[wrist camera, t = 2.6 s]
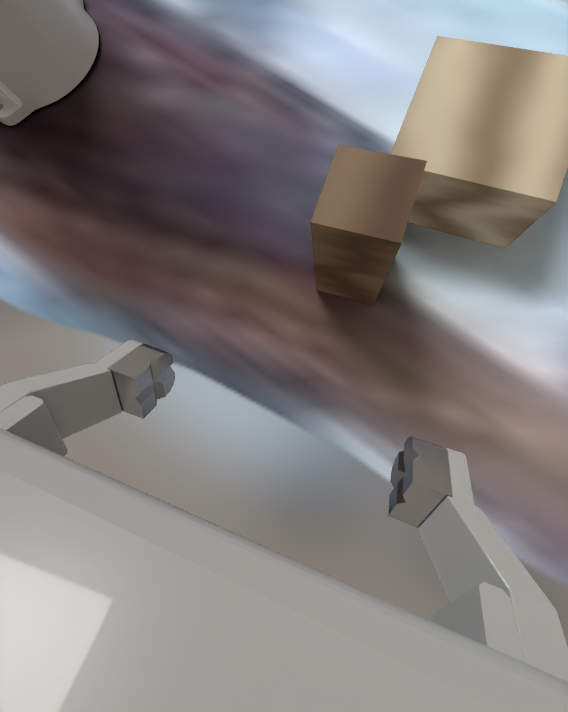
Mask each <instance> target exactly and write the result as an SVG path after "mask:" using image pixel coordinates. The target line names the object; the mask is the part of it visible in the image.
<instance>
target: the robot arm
mask: <svg viewBox="0 0 568 712" xmlns="http://www.w3.org/2000/svg"><path fill="white" fill-rule="evenodd" d="M98 44H99V36H98V30H97V27H96V25H95V23H94V21H93V20H92V19H91V17H90V16H89V15H88V14H87V12H86V11H85V10H84V5H83V0H0V122H2V123H4V124H6V125H9V126H12V125H15V124H17V123H19V122H20V121H22V120H23V119H24V118H25V117H27V116H28V115H29V114H30V113H32V112H33V111H35V110H36V109H39V108H41V107H43V106H46V105H49V104H51V103H53V102H55V101H57V100H59V99H60V98H62V97H63V96H65V95H66V94H68V93H69V92H70V91H71V90H73V89H74V88H75V87H76V86H77V85H78V84H79V83H80V82H81V81H82V79H83V78H84V77H85V76H86V74H87V73H88V71H89V70H90V68H91V66H92V64H93V62H94V60H95V57H96V54H97V50H98ZM172 363H173V357H172V355H171V354H170V353H168V352H165V351H163V350H160V349H157V348H155V347H152V346H149V345H147V344H143V343H141V342H138V341H135V340H128V341H126V342H125V343H124V344H122V345H121V346H119V347H118V348H116V349H115V350H113V351H112V352H111V353H109V354H108V355H106V356H105V357H103V358H102V359H100V360H99V361H98V362H96V363H95V364H91V363H87V364H84V365H79V366H75V367H71V368H67V369H63V370H59V371H55V372H51V373H46V374H42V375H38V376H34V377H29V378H25V379H21V380H17V381H13V382H9V383H5V384H4V385H2V386H0V712H568V647H567V644H566V641H565V637H564V634H563V631H562V627H561V624H560V621H559V618H558V614H557V611H556V609H555V608H554V607H553V605H552V604H551V603H550V601H549V600H548V599H547V597H546V596H545V595H544V593H543V592H542V590H541V589H540V588H539V586H538V585H537V584H536V582H535V581H534V580H533V578H532V577H531V576H530V574H529V573H528V571H527V570H526V569H525V567H524V566H523V565H522V563H521V562H520V561H519V559H518V558H517V557H516V555H515V554H514V553H513V551H512V550H511V549H510V547H509V546H508V544H507V543H506V542H505V540H504V539H503V538H502V536H501V535H500V534H499V532H498V531H497V530H496V528H495V527H494V526H493V524H492V523H491V522H490V520H489V519H488V518H487V516H486V515H485V513H484V512H483V511H482V509H481V508H479V507H476V506H475V504H474V498H473V493H472V487H471V482H470V476H469V470H468V465H467V459H466V456H465V455H464V454H463V453H460V452H457V451H454V450H451V449H448V448H444V447H442V446H439V445H436V444H433V443H430V442H427V441H424V440H421V439H418V438H415V437H412V436H410V437H409V438H407V440H406V442H405V443H404V451H402V452H399V453H398V455H397V457H396V458H395V461H394V464H393V467H392V472H391V483H392V485H393V487H394V489H393V490H392V492H391V493H390V497H389V516H391V517H393V518H395V519H398V520H400V521H402V522H405V523H407V524H409V525H412V526H414V527H416V528H418V532H419V534H420V537H421V539H422V541H423V543H424V545H425V548H426V550H427V552H428V554H429V556H430V559H431V561H432V563H433V565H434V567H435V570H436V572H437V574H438V577H439V579H440V581H441V583H442V585H443V587H444V590H445V592H446V594H447V596H448V599H449V601H450V604H448V605H447V606H445V607H444V608H442V609H441V610H439V611H438V612H436V613H435V614H433V615H432V621H430V620H428V619H425V618H423V617H421V616H419V615H417V614H414V613H412V612H410V611H408V610H405V609H403V608H401V607H399V606H396V605H394V604H392V603H390V602H387V601H385V600H383V599H381V598H378V597H376V596H374V595H372V594H370V593H367V592H365V591H363V590H361V589H359V588H356V587H354V586H352V585H350V584H347V583H345V582H343V581H341V580H338V579H336V578H334V577H332V576H329V575H327V574H325V573H323V572H320V571H318V570H316V569H314V568H311V567H309V566H307V565H305V564H303V563H300V562H298V561H296V560H294V559H292V558H289V557H287V556H285V555H282V554H280V553H278V552H276V551H274V550H272V549H269V548H267V547H265V546H263V545H260V544H258V543H256V542H254V541H251V540H249V539H247V538H245V537H242V536H240V535H238V534H236V533H234V532H231V531H229V530H227V529H225V528H222V527H220V526H218V525H216V524H214V523H211V522H209V521H207V520H205V519H202V518H200V517H198V516H196V515H193V514H191V513H189V512H187V511H184V510H182V509H180V508H178V507H175V506H173V505H171V504H169V503H166V502H164V501H162V500H160V499H158V498H155V497H153V496H151V495H149V494H147V493H144V492H142V491H140V490H137V489H135V488H133V487H131V486H129V485H126V484H124V483H122V482H120V481H117V480H115V479H113V478H111V477H108V476H106V475H104V474H102V473H99V472H97V471H95V470H93V469H91V468H88V467H86V466H84V465H82V464H80V463H77V462H75V461H73V460H71V459H68V458H66V457H64V456H65V455H66V454H67V448H66V446H65V444H64V442H63V440H62V439H63V438H65V437H68V436H70V435H72V434H74V433H76V432H79V431H81V430H83V429H85V428H88V427H90V426H92V425H94V424H96V423H99V422H101V421H103V420H105V419H108V418H110V417H112V416H114V415H116V414H119V413H121V412H122V411H124V412H127V413H130V414H133V415H135V416H138V417H141V418H145V416H147V415H148V413H150V411H151V410H152V409H153V408H154V407H155V406H156V405H157V399H160V398H163V397H165V396H166V395H167V394H168V393H169V392H170V390H171V388H172V386H173V384H174V380H175V374H174V371H173V370H172V368H171V367H170V365H171V364H172Z"/></svg>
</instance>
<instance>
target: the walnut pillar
mask: <svg viewBox="0 0 568 712" xmlns="http://www.w3.org/2000/svg"><path fill="white" fill-rule="evenodd" d="M426 163H427V161H425V160H420V159H414V158H409V157H403V156H398V155H392V154H387V153H381V152H376V151H370V150H365V149H359V148H353V147H348V146H342V145H338V146H337V149H336V152H335V155H334V158H333V160H332V163H331V166H330V169H329V172H328V174H327V177H326V180H325V183H324V186H323V189H322V191H321V194H320V197H319V200H318V203H317V206H316V208H315V211H314V214H313V217H312V220H311V232H312V244H313V255H314V267H315V279H316V290H317V291H321V292H324V293H328V294H332V295H335V296H339V297H343V298H346V299H350V300H354V301H357V302H361V303H365V304H368V305H372V306H373V305H374V303H375V301H376V299H377V296H378V294H379V292H380V290H381V287H382V285H383V283H384V281H385V279H386V276H387V274H388V272H389V270H390V267H391V265H392V263H393V261H394V259H395V256H396V254H397V252H398V250H399V247H400V245H401V243H402V240H403V236H404V233H405V230H406V227H407V224H408V220H409V217H410V214H411V211H412V208H413V204H414V201H415V198H416V195H417V192H418V188H419V185H420V182H421V179H422V176H423V172H424V169H425V166H426Z"/></svg>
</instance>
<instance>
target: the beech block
mask: <svg viewBox="0 0 568 712" xmlns="http://www.w3.org/2000/svg"><path fill="white" fill-rule="evenodd" d="M391 154H392V155H398V156H403V157H409V158H414V159H420V160H425V161H427V163H426V166H425V169H424V172H423V176H422V179H421V182H420V185H419V188H418V192H417V195H416V198H415V201H414V204H413V208H412V211H411V214H410V217H409V220H408V222H410V223H414V224H417V225H421V226H425V227H429V228H432V229H436V230H440V231H443V232H447V233H451V234H454V235H458V236H462V237H465V238H469V239H473V240H477V241H480V242H484V243H488V244H491V245H495V246H499V247H502V248H506V247H507V246H508V245H509V244H511V243H512V242H513V241H514V240H515V239H516V238H517V237H518V236H519V235H520V234H522V233H523V232H524V231H525V230H526V229H527V228H528V227H529V226H530V225H532V224H533V223H534V222H535V221H536V220H537V219H538V218H539V217H540V216H542V215H543V214H544V213H545V212H546V211H547V210H548V209H549V208H550V207H552V206H553V205H554V204H555V203H556V202H557V199H558V196H559V193H560V190H561V186H562V183H563V180H564V177H565V174H566V171H567V168H568V56H565V55H558V54H552V53H545V52H539V51H532V50H526V49H519V48H513V47H506V46H500V45H493V44H487V43H480V42H474V41H467V40H461V39H454V38H448V37H441V36H437V38H436V41H435V43H434V46H433V48H432V51H431V53H430V56H429V58H428V61H427V63H426V66H425V68H424V71H423V74H422V76H421V79H420V81H419V84H418V86H417V89H416V91H415V94H414V96H413V99H412V101H411V104H410V106H409V109H408V111H407V114H406V116H405V119H404V121H403V124H402V126H401V129H400V131H399V134H398V136H397V139H396V141H395V144H394V146H393V149H392V151H391Z"/></svg>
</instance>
